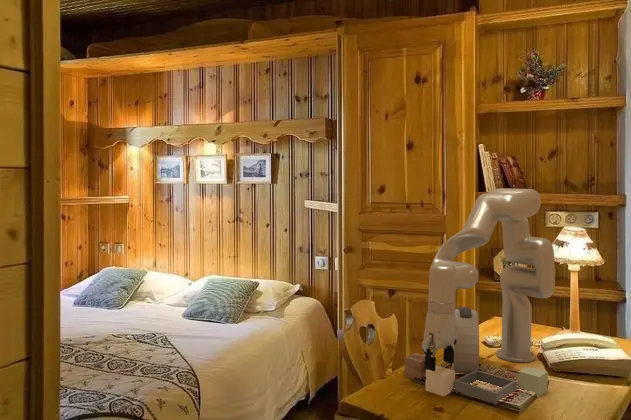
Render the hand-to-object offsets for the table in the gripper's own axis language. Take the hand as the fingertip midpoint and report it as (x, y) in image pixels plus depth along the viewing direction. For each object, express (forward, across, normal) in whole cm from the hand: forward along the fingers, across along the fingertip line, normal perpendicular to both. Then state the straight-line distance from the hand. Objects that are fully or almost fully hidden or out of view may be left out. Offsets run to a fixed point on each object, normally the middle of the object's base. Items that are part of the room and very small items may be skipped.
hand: (439, 366), depth 153 cm
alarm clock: (+7, -23, -5) cm, 24 cm away
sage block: (+7, -20, +19) cm, 28 cm away
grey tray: (+7, -9, +10) cm, 15 cm away
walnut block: (+7, -6, -11) cm, 14 cm away
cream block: (+7, -1, 0) cm, 7 cm away
